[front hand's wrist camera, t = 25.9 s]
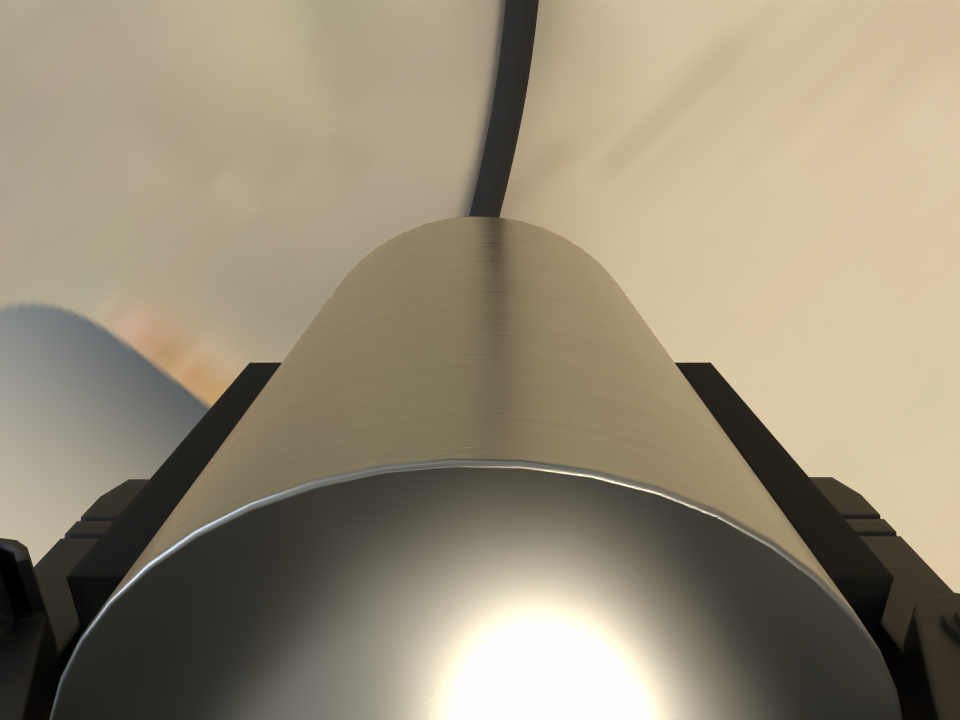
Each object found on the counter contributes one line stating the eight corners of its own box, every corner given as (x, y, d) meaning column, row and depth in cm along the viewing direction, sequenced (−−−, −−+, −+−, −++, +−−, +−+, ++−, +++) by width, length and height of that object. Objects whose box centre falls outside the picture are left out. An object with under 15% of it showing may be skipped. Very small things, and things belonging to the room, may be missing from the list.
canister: (357, 543, 18) (209, 1080, 8) (269, 250, 15) (-130, 546, 5) (658, 498, 17) (887, 1018, 7) (630, 186, 14) (947, 380, 5)
